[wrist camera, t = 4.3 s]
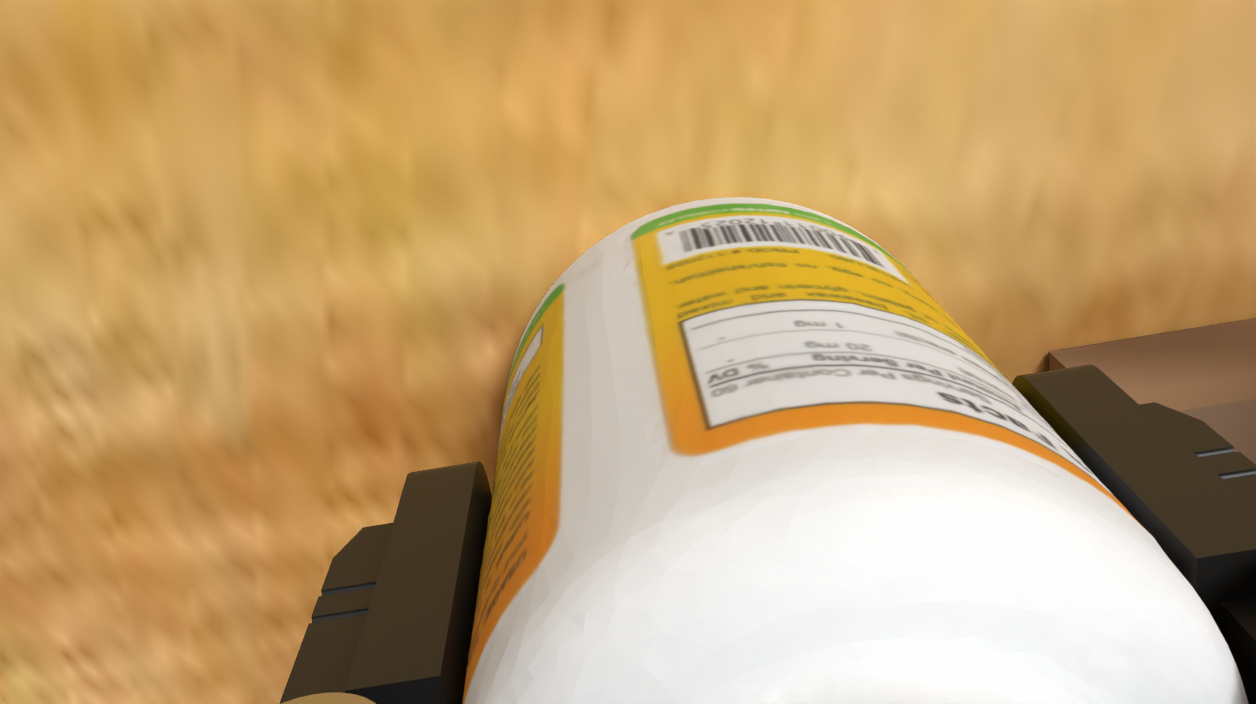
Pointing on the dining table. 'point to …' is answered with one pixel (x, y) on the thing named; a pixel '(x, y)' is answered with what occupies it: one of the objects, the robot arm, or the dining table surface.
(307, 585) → the dining table surface
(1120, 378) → the stone ring base
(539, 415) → the supplement bottle
